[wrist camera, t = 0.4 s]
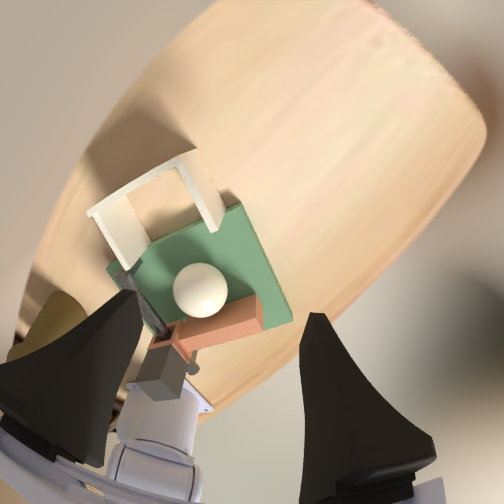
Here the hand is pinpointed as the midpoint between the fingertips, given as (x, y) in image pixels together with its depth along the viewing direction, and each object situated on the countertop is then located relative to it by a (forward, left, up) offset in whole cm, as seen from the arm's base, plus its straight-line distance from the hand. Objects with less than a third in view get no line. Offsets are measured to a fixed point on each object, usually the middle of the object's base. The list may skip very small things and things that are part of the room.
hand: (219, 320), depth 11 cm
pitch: (-6, -4, -11) cm, 13 cm away
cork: (-23, -1, -11) cm, 25 cm away
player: (-5, -6, -9) cm, 12 cm away
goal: (-4, +4, -11) cm, 12 cm away
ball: (-4, -2, -8) cm, 9 cm away
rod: (-9, -4, -10) cm, 14 cm away
